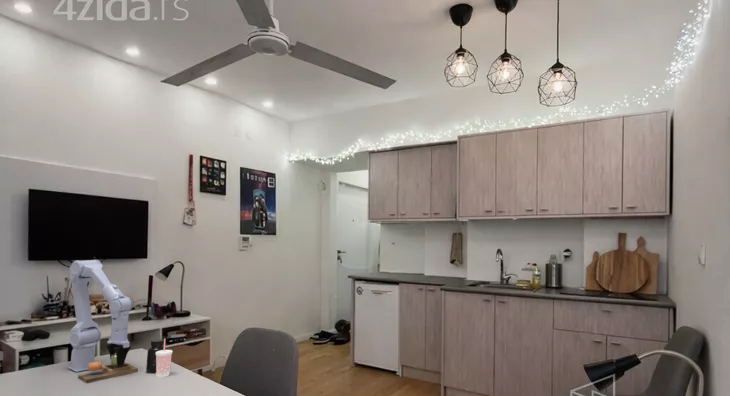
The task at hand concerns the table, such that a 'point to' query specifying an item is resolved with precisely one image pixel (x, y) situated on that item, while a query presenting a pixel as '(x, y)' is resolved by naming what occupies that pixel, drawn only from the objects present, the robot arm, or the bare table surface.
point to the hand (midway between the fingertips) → (117, 363)
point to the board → (107, 373)
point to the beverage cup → (163, 362)
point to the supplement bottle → (153, 354)
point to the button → (95, 366)
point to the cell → (114, 362)
